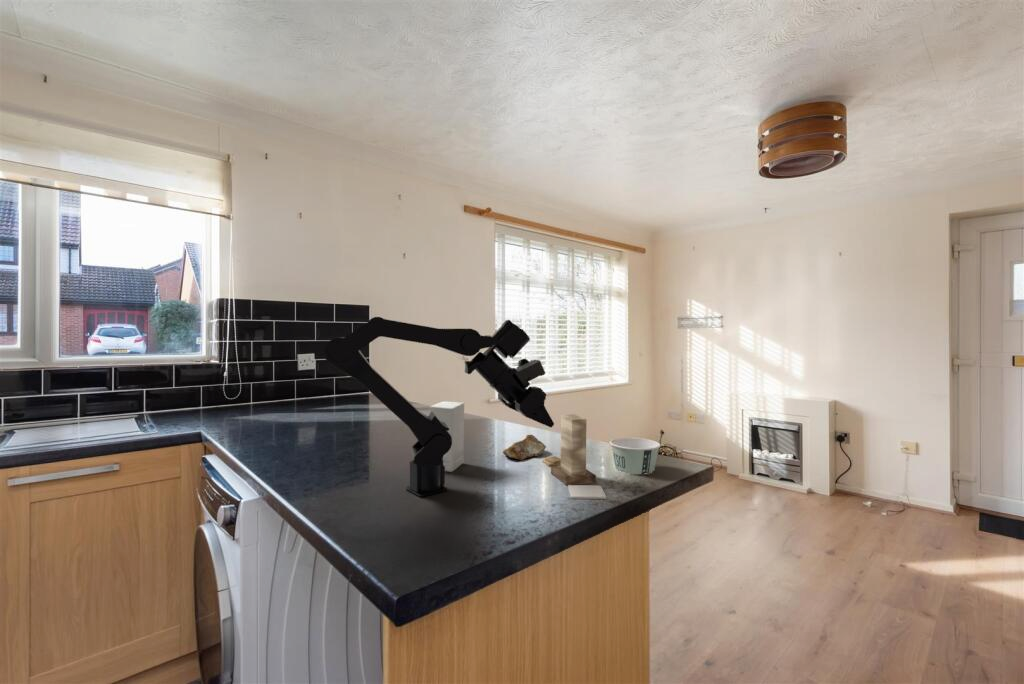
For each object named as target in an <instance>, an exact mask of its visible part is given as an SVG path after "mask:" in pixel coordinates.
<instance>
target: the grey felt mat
mask: <svg viewBox="0 0 1024 684" xmlns="http://www.w3.org/2000/svg"><path fill="white" fill-rule="evenodd" d="M567 490H568V492H569V495H570V499H581V500H583V499H584V500H585V499H586V500H587V499H588V500H590V499H591V500H592V499H593V500H607V495H606V493H605V491H604V490H603V488H602V486H601V485H587V484H586V485H585V484H584V485H583V484H576V485H567Z"/></svg>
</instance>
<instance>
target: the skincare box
mask: <svg viewBox="0 0 1024 684" xmlns="http://www.w3.org/2000/svg"><path fill="white" fill-rule="evenodd" d="M431 412H433V413H434V414H435V416H436V417H437V418H438V420H440V421H441V422H444V423H445V424H446V425H447V426H448V428H449V430H448V433H449V434H450V435H451V437H452V445H451V448H450V450H449V451H448V452H447V453H446V454H445V455H444V456H443V465H444V466H445V472H446V471H447V473H452V472H454V471H455V470H457V469H458V468H459V467H460V466H462V465H463V464H464V444H465V443H464V441H465V440H464V439H465V433H464V432H465V428H464V427H465V402H463V401H460V402H459V401H440V402H438V403H435V404H433V405H430V406H429V414H428V416H429V415H430V413H431Z"/></svg>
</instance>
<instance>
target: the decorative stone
mask: <svg viewBox="0 0 1024 684" xmlns="http://www.w3.org/2000/svg"><path fill="white" fill-rule="evenodd" d="M546 448H547V446H546V445H545V443H543V442H542V441H541V440H538V438H537V437H536V436H534V435H533V434H527V435H526V436H525V438H524V439H522V440H519V441H516V442H514V443H512V445H510V446H508V448H505V449H504V450H503V451H502V453H503V455H504V456H506V457H508V456H509V458H512V459H514V458H515V459H516V460H518V459H519V461H524V459H527V458H530V457H534V456H535V457H538V456H539V455H541V454H542V453H543V452H544V450H545V449H546ZM515 459H514V460H515Z"/></svg>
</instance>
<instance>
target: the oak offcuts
mask: <svg viewBox="0 0 1024 684" xmlns="http://www.w3.org/2000/svg"><path fill="white" fill-rule="evenodd" d="M542 463H544V464H545V465H546V466H547V467H550V468H551V467H554V466H561V457H558V456H556V455H555V456H549V457H544V458H543V459H542Z"/></svg>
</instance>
